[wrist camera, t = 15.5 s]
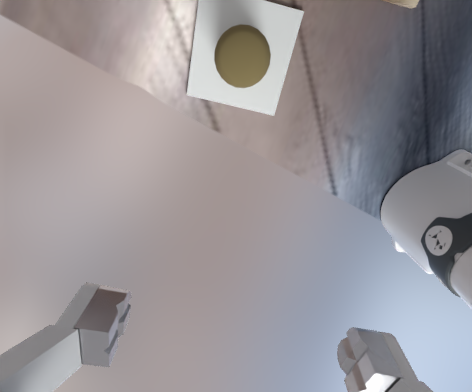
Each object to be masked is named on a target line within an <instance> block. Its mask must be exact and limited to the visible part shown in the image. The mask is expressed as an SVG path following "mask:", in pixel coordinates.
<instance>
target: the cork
mask: <svg viewBox="0 0 472 392" xmlns="http://www.w3.org/2000/svg"><path fill="white" fill-rule="evenodd" d="M270 58H271V53H270V47H269V44H268V42H267V40H266V38H265V36H264V35H263V34H262V33H261V32H260V31H259V30H258V29H257V28H254V27H252V26H250V25H243V24H239V25H236V26H233V27H230V28H229V29H228V30H226V31H225V32H224V33H223V34H222V35H221V37H220V38H219V40H218V41H217V45H216V48H215V53H214V61H215V65H216V69H217V71H218V73H219V75H220V76H221V78H222V79H223V80H224V81H225V82H226V83H227V84H229V85H231V86H234V87H236V88H247V87H251V86H253V85H255V84H256V83H258V82H259V81H261V79H262V78H263V77H264V76H265V74H266V72H267V70H268V68H269V65H270Z"/></svg>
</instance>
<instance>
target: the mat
mask: <svg viewBox="0 0 472 392" xmlns="http://www.w3.org/2000/svg"><path fill="white" fill-rule="evenodd" d="M303 13H304V11H301V10H297V9H294V8H290V7H286V6H283V5H279V4H275V3H272V2H268V1H265V0H199V1H198V9H197V17H196V25H195V33H194V41H193V49H192V57H191V64H190V72H189V80H188V88H187V95H189V96H193V97H197V98H202V99H206V100H210V101H214V102H218V103H223V104H227V105H231V106H235V107H239V108H244V109H248V110H252V111H256V112H260V113H265V114H269V115H273V116H274V114H275V110H276V107H277V103H278V100H279V97H280V93H281V90H282V86H283V83H284V79H285V76H286V72H287V69H288V65H289V62H290V58H291V55H292V51H293V48H294V44H295V41H296V37H297V34H298V31H299V27H300V24H301V20H302V17H303ZM239 24H243V25H250V26H252V27H254V28H257V29H258V30H259V31H260V32H261V33H262V34H263V35H264V36H265V38H266V40H267V42H268V44H269V47H270V53H271V58H270V65H269V68H268V70H267V72H266V74H265V76H264V77H263V78H262V79H261V81H259V82H258V83H256V84H255V85H253V86H251V87H247V88H236V87H234V86H231V85H229V84H227V83H226V82H225V81H224V80H223V79H222V78H221V76H220V75H219V73H218V71H217V69H216V65H215V61H214V53H215V48H216V45H217V41H218V40H219V38H220V37H221V35H222V34H223V33H224V32H225V31H226V30H228V29H229V28H230V27H233V26H236V25H239Z"/></svg>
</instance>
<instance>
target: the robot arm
mask: <svg viewBox="0 0 472 392" xmlns="http://www.w3.org/2000/svg"><path fill="white" fill-rule="evenodd" d="M466 160H467V161H466ZM465 161H466V162H465ZM381 221H382V224H383V226H384V227H385V229H386V230H387V231H388V232H389V234H390V235H391V238H392V245H393V247H394V248H395V249H396V250H397V251H398V252H406V253H407V254H408V255H409V256H410V257H411V258H412V259H413V260H414V261H415V262H416V263H417V264H418V265H419V266H420V267H421V268H422V269H423V270H424V271H425V272H427V273H429V274H435V275H436V277H437V278H438V279H439V281H440V282H441V283H442V284H443V285H444V286H445V287H447V288H448V289H449V290H450V291H451V292H452V293H453V294H455V295H456V296H459V297H461V298H462V299H463V300H464V301H465V303H466V304H467V305H468V306H469V307H470V308H471V309H472V153H470V152H468V151H466V150H464V149H459V150H456V151H454V152H452V153H451V154H449V155H447V156H446V157H444V158H443V159H441V160H440V161H438V162H435V163H432V164H429V165H426V166H423V167H420V168H418V169H416V170H414V171H412V172H410V173H408V174H407V175H405V176H404V177H403V178H401V179H400V180H399V181H398V182H397V183H396V184H395V185H394V186H393V187H392V188H391V189H390V191H389V192H388V193H387V195H386V197H385V199H384V201H383V204H382V207H381ZM130 299H131V291H129V290H124V289H119V288H114V287H109V286H104V285H98V284H93V283H87V282H86V283H85V284H84V285H83V286H82V287H81V288H80V289H79V291H78V292H77V294H76V295H75V297H74V298H73V300H72V301H71V302H70V304H69V305H68V307H67V308H66V310H65V311H64V313H63V314H62V316H61V317H60V318H59V320H58V321H57V323H56V324H55V325H49V326H47V327H45V328H44V329H43V330H41V331H39V332H37V333H36V334H34V335H32V336H31V337H29V338H27V339H26V340H24V341H23V342H21V343H19V344H18V345H16V346H14V347H13V348H11V349H9V350H8V351H6V352H5V353H3V354H1V355H0V392H53V391H54V390H55V389H57V388H58V387H59V386H60V385H61V384H62V383H63V382H64V381H66V380H67V379H68V378H69V377H70V376H71V375H72V374H73V373H74V372H76V370H78V369H79V368H80V367H81V366H82V364H86V365H94V366H104V367H109V366H110V364H111V362H112V359H113V357H114V355H115V352H116V350H117V348H118V338H119V337H120V336H121V335H123V333H124V331H125V329H126V326H127V323H128V320H129V316H130V310H131V305H130V304H129V301H130ZM347 336H348V337H347V338H345V339H343V340H341V342H340V343H339V345H338V351H337V356H338V362H339V365H340V367H341V368H342V370H343V371H344V372H345V373H346V377H345V380H344V381H345V384H346V387H347V390H348V392H433V391H432V390H431V389H430V388H429V387H428V386H427V385H425V383H424V382H421V381H419V380H418V379H417V377H416V375H415V373H414V371H413V369H412V368H411V366H410V364H409V362H408V360H407V358H406V357H405V355H404V353H403V351H402V349H401V347H400V345H399V344H398V342H397V340H396V338H395V337H394V336H393V335H392V334H390V333H384V332H377V331H374V330H366V329H361V328H354V327H353V328H350V329H349V330H348V331H347Z"/></svg>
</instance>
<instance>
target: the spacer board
mask: <svg viewBox="0 0 472 392" xmlns="http://www.w3.org/2000/svg"><path fill="white" fill-rule="evenodd" d="M382 1H386V2H389V3H393V4H396V5H400V6H403V7H407V8H410V9H412V8H416V6H417V4H418V2H419V0H382Z"/></svg>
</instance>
